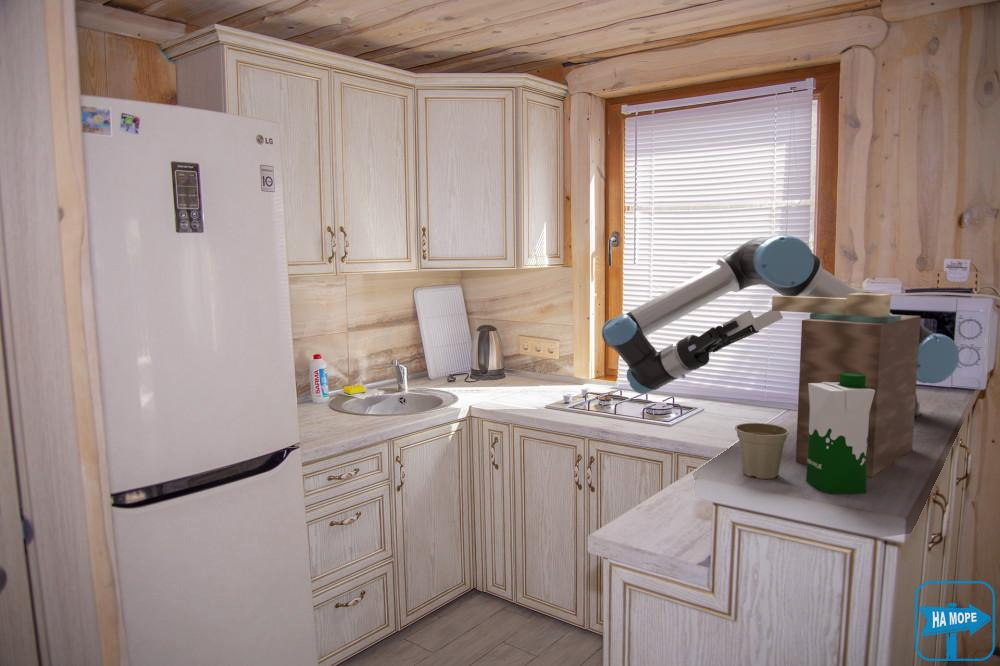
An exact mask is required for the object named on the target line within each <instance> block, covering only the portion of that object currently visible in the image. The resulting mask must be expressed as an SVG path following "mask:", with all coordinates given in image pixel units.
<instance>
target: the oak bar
mask: <svg viewBox="0 0 1000 666" xmlns="http://www.w3.org/2000/svg"><path fill="white" fill-rule="evenodd" d="M891 295H892V294H891V293H866V292H865V293H864V292H863V293H862V292H859V293H854V294H847V298H828V297H802V296H783V295H772V298H771V299H772V300H771V310H772V311H780V312H788V313H789V312H791V313H810V314H811V313H825V314H844V315H851V316H869V317H883V316H888V315H890V313H891V299H892V298H891V297H892V296H891Z"/></svg>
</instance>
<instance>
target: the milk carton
mask: <svg viewBox="0 0 1000 666" xmlns="http://www.w3.org/2000/svg"><path fill="white" fill-rule="evenodd" d="M865 379H866V375H865V374H861V373H851V372H844V373H840V380H839V382H822V383H808V386H809V400H810V418H809V440H808V460H807V464H806V475H805V476H806V478H805V480H806V481H805V482H807V483H808V484H810V485H812V486H813V487H815V488H817V489H818V490H820V491H822V492H823V493H824V494H827V495H831V494H832V495H833V494H834V495H837V494H839V495H841V494H864V493H865V494H866V493H867V476H866V461H867V443H868V425H869V412H870V408H871V404H872V401H873V397H874V393H875V390H873V389H871V388H868V387H867V386H865Z"/></svg>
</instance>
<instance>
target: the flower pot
mask: <svg viewBox="0 0 1000 666" xmlns="http://www.w3.org/2000/svg"><path fill="white" fill-rule="evenodd" d="M734 430H735V431H736V434H737V435H736V436H737V438H738V440H739V441H738V442H739V449H740V451H739V452H740V457H741V458H740V459H741V466H742V467H741V468H742V472H743V474H744V475H746V476H747V477H755V478H757V479H761V480H765V479H766V480H767V479H769V480H770V479H774V478H776V477H777V476H779V474H780V473H779V471H780V468H781V460H782V456H783V449H784V446H785V445H784V444H785V442H786V440H787V436H788V435H789V434H790V430H789V429H788V428H786V427H784V426H781V425H779V424H773V423H772V424H771V423H763V422H747V423H739V424H737V425H735V426H734Z"/></svg>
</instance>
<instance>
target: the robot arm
mask: <svg viewBox="0 0 1000 666" xmlns="http://www.w3.org/2000/svg"><path fill="white" fill-rule="evenodd" d="M755 285H756V286H757V285H762V286H767V287H769V288H770V289H772V290H773V291H775V292H777V293H778V294H780V296H802V297H828V298H847V294H854V293H860V291H857V290H856V289H855V288H853V287H852V286H851V285H849V284H847V283H846V282H844V281H843V280H841V279H839V278H838V277H836V276H835V275H834V274H832V273H830V272H829V271H827V269H824V267H823V265H822V259H821V258H820V257H819V256H817V255H815V254H814V253H813V251H812V250H811V248H810V246H809V244H807V243H806V242H805V241H803V240H802V239H800V238H798V237H795V236H791V235H787V234H778V235H772V236H770V235H769V236H760V237H756V238H752V239H750V240H748V241H746V242H745V243H743V244H742V245H740V246H738V247H737V248H735V249H733V250H732V251H730V252H728V253H727V254H725V255H723V256H721V257H720V258H718V259H717V261H716V264H715V265H713V266H711V267H710V268H708V269H706V270H704V271H702V272H701V273H698V274H697V275H695V276H693V277H691V278H690V279H688V280H686V281H684V282H682V283H679V284H678V285H677V286H674V287H672V288H670V289H669V290H667V291H666V292H664V293H662V294H660V295H658V296H656V297H654V298H653V299H651V300H648V301H647V302H645V303H643V304H641V305H639V306H637V307H636V308H634V309H632V310H630V311H628V312H627V313H622V314H619V315H618V316H616V317H613V318H611V319H608V320H607V321H606V322H605V323H603V326H602V327H601V336H602V340H603V341H604V343H605V344H606V345H607V347H609V348H611V349H613V350H614V352H616V353H617V354H618V355H619V356H620V358H621V359H622V361H624V362H625V363H626V365H627V367H628V369H627V371H626V379H627V381H628V382H629V386H630V388H631V389H632V390H633V391H634V392H635V393H637V394H640V395H642V394H643V395H645V394H648V393H650V392H653V391H657V390H658V389H660V388H661V387H664V386H665V385H667V384H670V383H671V382H673V381H676V380H677V379H679V378H681V379H686V375H687V374H689V373H691V372H693V371H696V370H697V369H700V368H702V367H704V366H706V365H708V363H709V362H710V353H715V352H718V351H720V350H722V349H723V348H726V347H728V346H730V345H732V344H734V343H736V342H739V341H741V340H744V339H746V338H748V337H751V336H753V335H755V334H758V333H759V332H760V331H761V330H762V329H765V328H766V327H768V326H771V325H772V324H775V323H777V322H778V321H781V320H783V319H784V317H783V315H782V313H781V311H772V309H770V310H768V311H767V312H764V313H763V314H761V315H758V316H756V317H755V316H754V314H753V313H752V311H751V310H747V311H745V312H743V313H741V314H740V315H738V316H736V317H734V318H731V319H730V320H728V321H726V322H724V323H722V325H717V326H716V327H714V326H713V327H711V328H710V329H708V330H706V331H705V332H704V333H702V334H701V335H700V336H697V335H695V334H690V335H688V336H685V337H684V338H682V339H680V340H679V341H677V342H674V343H673V344H671V345H669V346H667V347H664V348H663V349H661V350H660V351H657V350H656V348H655V347H654V346H653V344H652V343H651V342H650V340H648V338H647V336H649V335H651V334H653V333H654V332H657V331H659V330H661V329H662V328H664V327H666V326H668V325H670V324H671V323H673V322H675V321H677V320H679V319H681V318H682V317H684V316H686V315H689V314H690V313H692V312H695V311H696V310H697V309H700V308H701V307H703V306H705V305H707V304H709V303H712V302H713V301H714V300H717V299H718V298H720V297H722V296H724V295H726V294H728V293H730V292H734V293H738V292H740V291H742V290H744V289H746V288H749V287H753V286H755ZM890 315H894V314H893V313H892V312H890ZM959 353H960V351H959V347H958V345H957V343H956V341H954V340H953V339H952V338H951V337H949V336H947V335H946V334H943V333H936V332H933V331H931V330H929V329H928V328H926V326H923V325H922V324H920V334H919V350H918V366H917V381H918V382H920V383H921V384H939V383H941V382H944V381H946V380H947V379H948V378H950V377H951V376H952V375H953V374H954V372H955V371H956V369H957V368H958V366H959V365H958V364H959V361H960V356H959V355H960V354H959ZM920 414H921V405H920V403H919V402H918V395H917V394H916V398H915V413H914V417H917V416H920Z"/></svg>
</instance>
